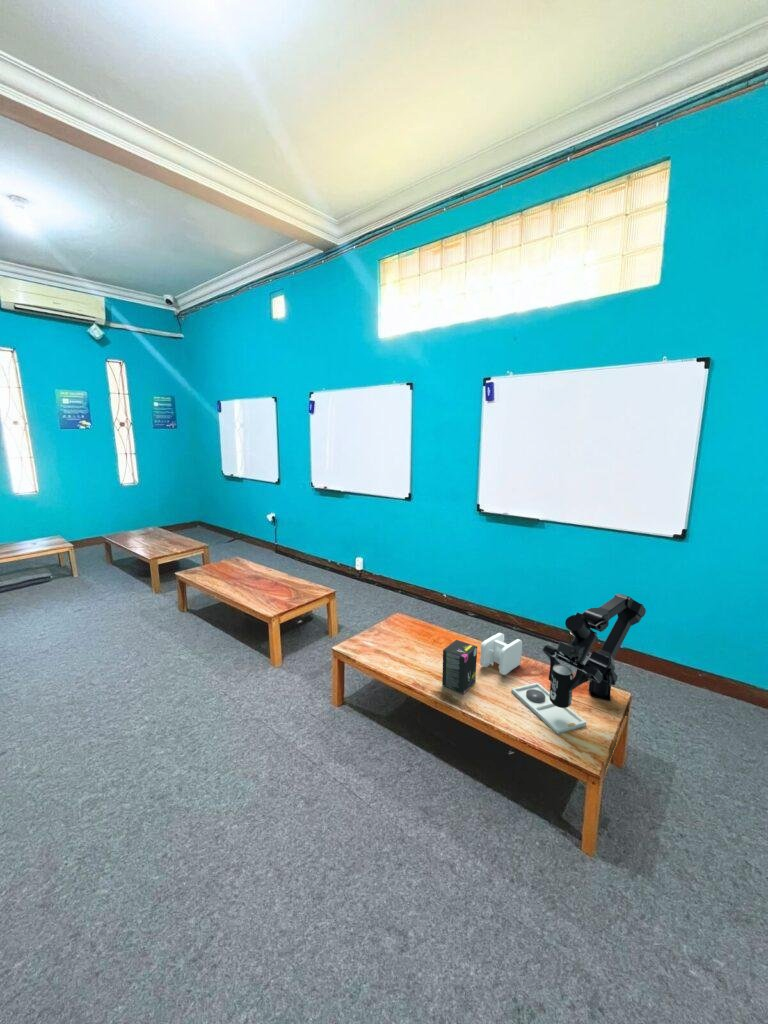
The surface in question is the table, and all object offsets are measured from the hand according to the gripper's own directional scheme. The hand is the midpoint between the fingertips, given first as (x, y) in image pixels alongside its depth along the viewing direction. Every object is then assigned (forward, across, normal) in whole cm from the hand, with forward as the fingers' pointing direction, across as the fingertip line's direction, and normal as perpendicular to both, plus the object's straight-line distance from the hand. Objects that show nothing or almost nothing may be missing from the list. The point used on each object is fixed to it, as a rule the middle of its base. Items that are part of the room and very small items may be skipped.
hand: (558, 685), depth 130 cm
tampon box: (+18, -32, 0) cm, 37 cm away
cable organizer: (+3, -32, +16) cm, 36 cm away
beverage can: (+4, 0, +6) cm, 7 cm away
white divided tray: (+7, -6, +10) cm, 14 cm away
